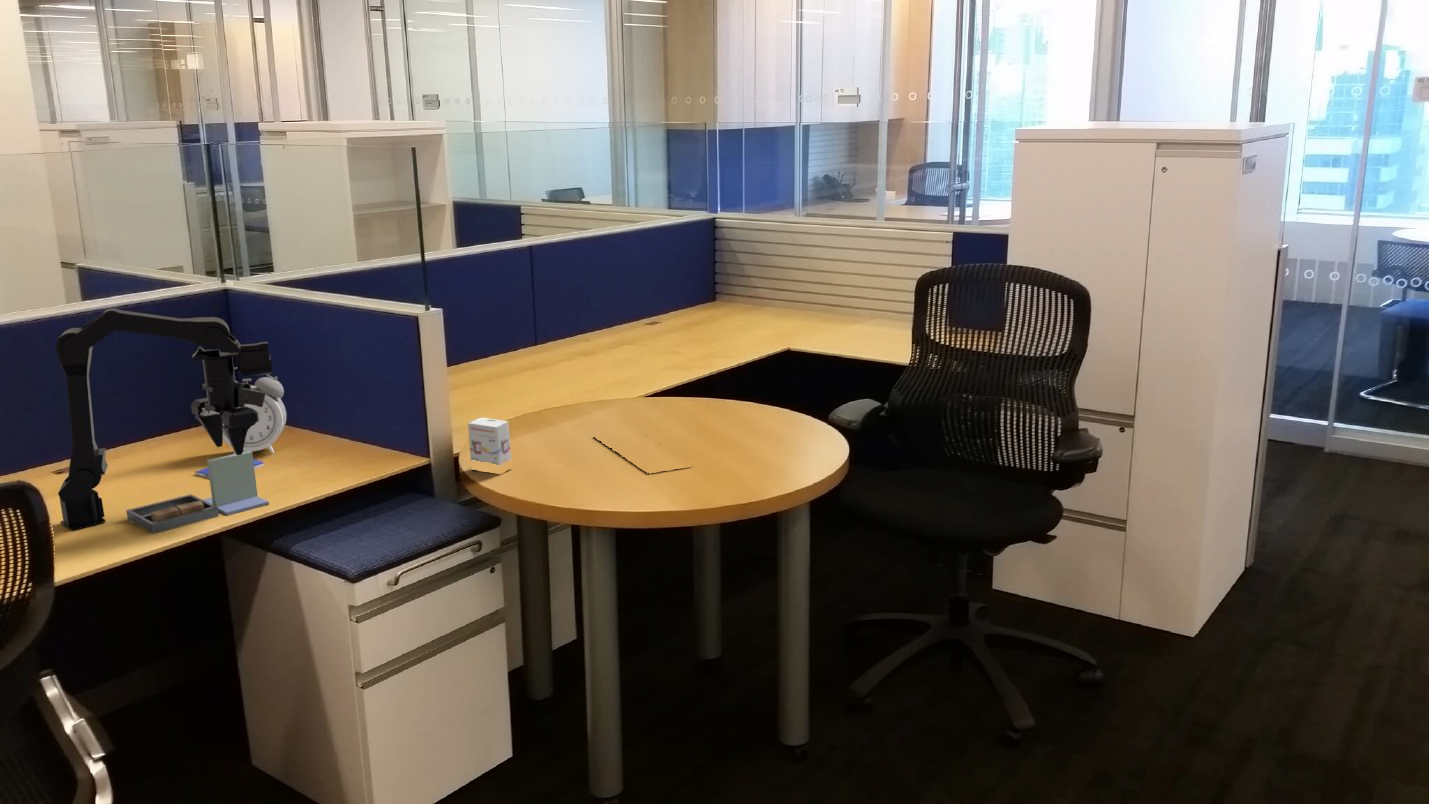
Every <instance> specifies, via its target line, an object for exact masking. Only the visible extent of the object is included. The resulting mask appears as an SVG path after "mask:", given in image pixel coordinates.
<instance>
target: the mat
mask: <svg viewBox="0 0 1429 804" xmlns="http://www.w3.org/2000/svg"><path fill="white" fill-rule="evenodd" d="M203 500H204V501H206V502H208V503H210V504H212V505H213V502H212V497H210V498H205V499H203ZM269 503H270V502H269V501H268V500H266V499H264V498H262V497H259V496H257V497H253V498H249V499H245V500H241V501H237V502H234V503H230V504H226V505H222V506H218V512H220V513H222V514H223V515H225V516H230V515H234V514H237V513H242V512H245V511H249V510H253V509H256V508H260V507H265V506H268V505H269Z"/></svg>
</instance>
